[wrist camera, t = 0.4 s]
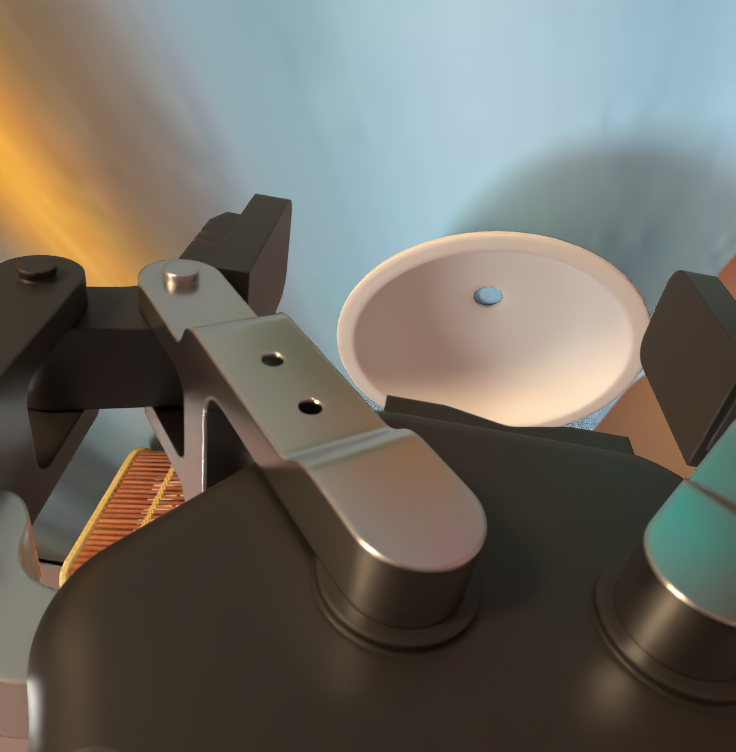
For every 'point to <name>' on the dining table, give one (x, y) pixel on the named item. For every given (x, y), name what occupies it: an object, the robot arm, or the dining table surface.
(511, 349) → the soup bowl
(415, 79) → the dining table surface
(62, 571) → the picnic basket
